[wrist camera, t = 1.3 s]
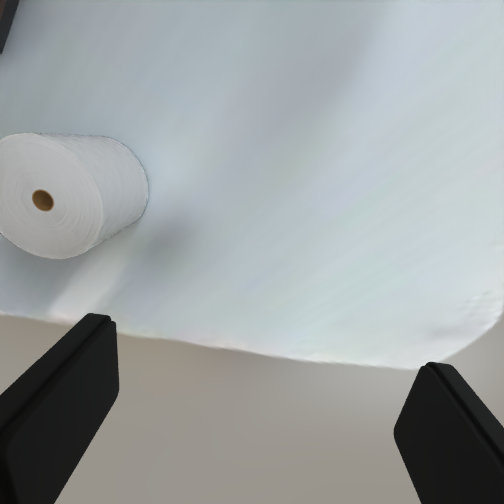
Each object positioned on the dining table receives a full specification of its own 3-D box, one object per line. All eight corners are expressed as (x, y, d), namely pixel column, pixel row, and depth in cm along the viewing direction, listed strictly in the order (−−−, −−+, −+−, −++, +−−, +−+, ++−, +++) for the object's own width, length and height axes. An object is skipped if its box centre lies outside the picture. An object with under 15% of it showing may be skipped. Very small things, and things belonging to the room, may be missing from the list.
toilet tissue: (162, 219, 35) (122, 248, 25) (72, 238, 36) (3, 271, 27) (130, 125, 31) (70, 117, 22) (32, 150, 32) (-63, 153, 23)
